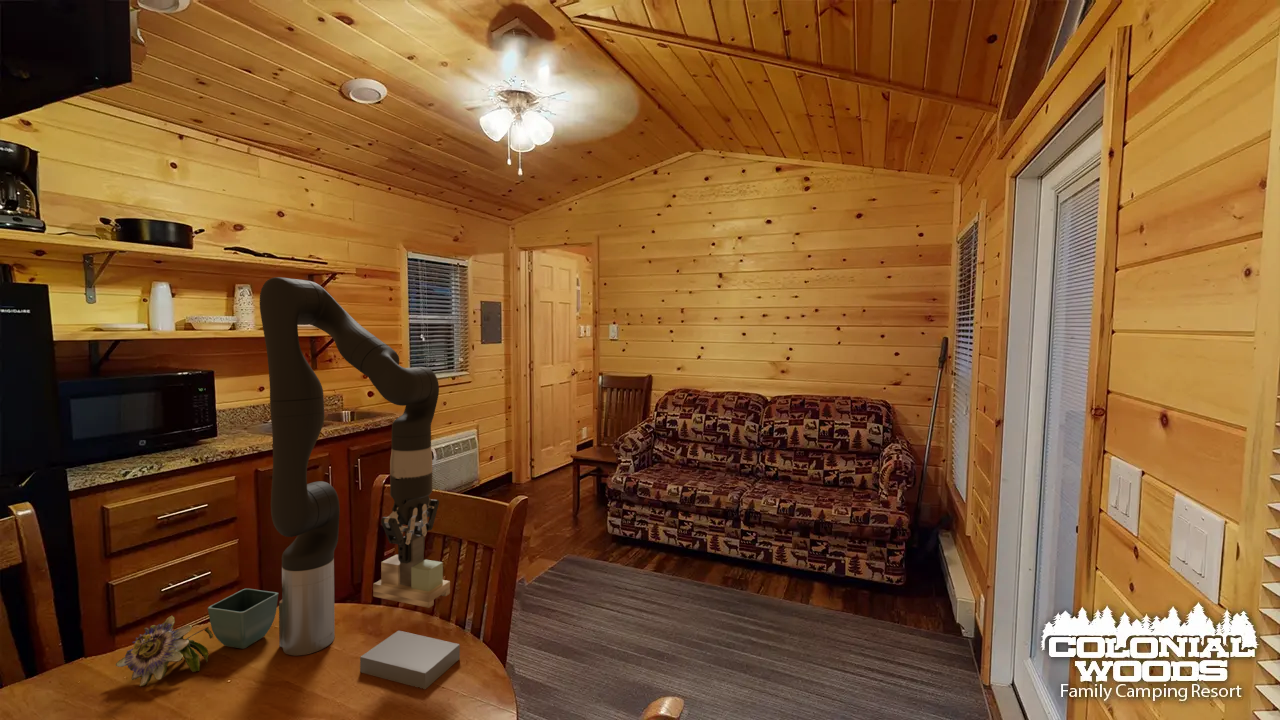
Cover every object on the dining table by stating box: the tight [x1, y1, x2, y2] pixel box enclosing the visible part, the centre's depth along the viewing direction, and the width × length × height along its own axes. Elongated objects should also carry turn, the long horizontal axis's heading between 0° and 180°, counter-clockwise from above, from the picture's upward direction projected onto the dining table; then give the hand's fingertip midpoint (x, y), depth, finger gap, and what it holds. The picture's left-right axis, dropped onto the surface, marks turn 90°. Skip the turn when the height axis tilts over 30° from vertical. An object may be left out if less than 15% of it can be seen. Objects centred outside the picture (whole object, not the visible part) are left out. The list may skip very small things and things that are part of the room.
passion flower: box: [115, 615, 214, 687], centre depth 104 cm, size 11×11×12 cm
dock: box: [359, 630, 461, 690], centre depth 107 cm, size 15×10×3 cm, turn 72°
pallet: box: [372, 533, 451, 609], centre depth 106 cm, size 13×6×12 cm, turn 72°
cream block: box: [380, 554, 400, 586], centre depth 107 cm, size 4×4×4 cm
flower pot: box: [207, 588, 280, 650], centre depth 114 cm, size 9×9×9 cm
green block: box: [411, 559, 444, 591], centre depth 105 cm, size 4×4×4 cm
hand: (411, 558), depth 106 cm, fingers closed on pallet, 3 cm apart
